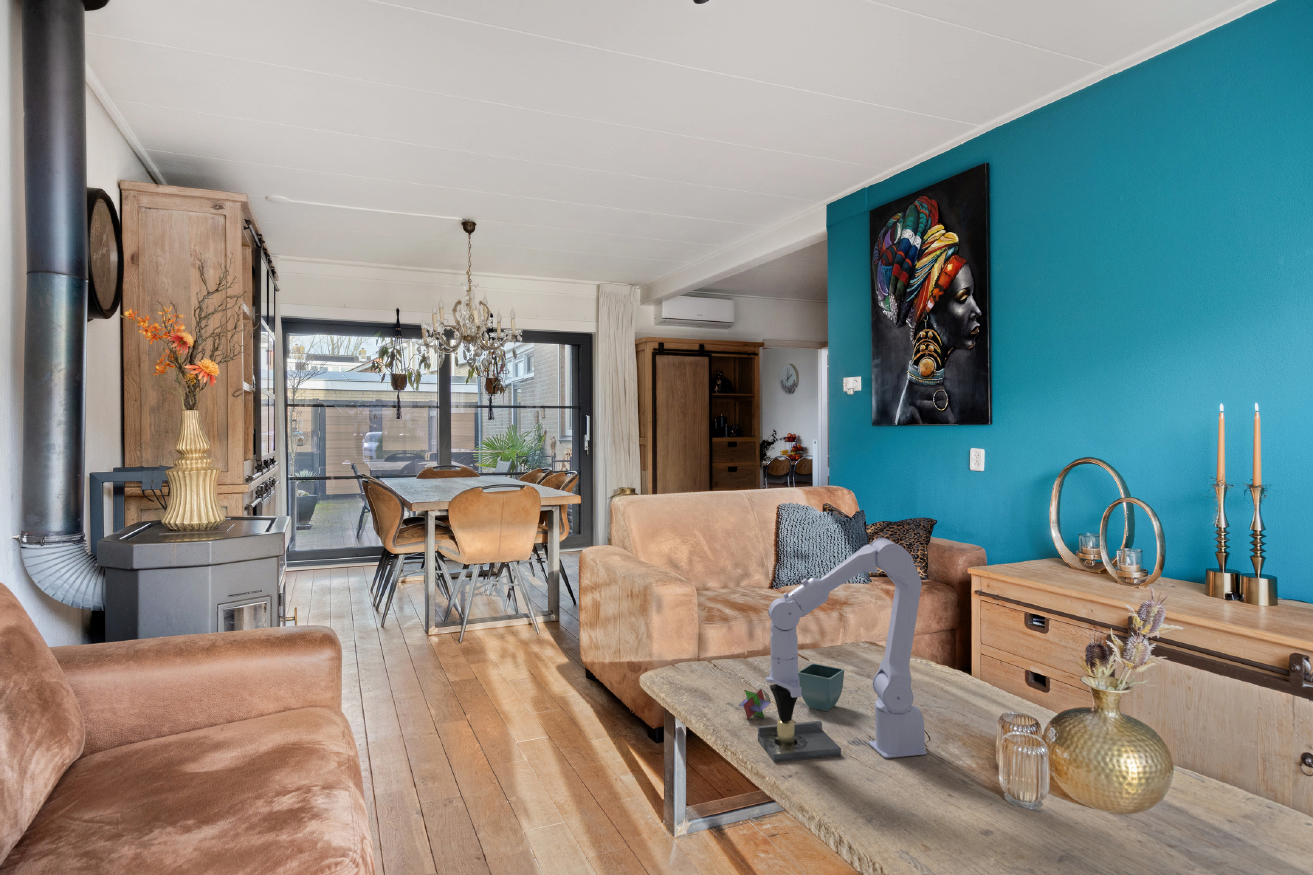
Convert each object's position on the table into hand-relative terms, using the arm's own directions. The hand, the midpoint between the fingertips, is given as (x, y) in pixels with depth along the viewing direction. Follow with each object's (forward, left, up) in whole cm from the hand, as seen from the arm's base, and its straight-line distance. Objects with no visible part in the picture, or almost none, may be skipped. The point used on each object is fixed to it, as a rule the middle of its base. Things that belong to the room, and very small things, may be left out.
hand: (785, 720), depth 158 cm
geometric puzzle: (+1, -19, -6) cm, 20 cm away
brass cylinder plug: (0, 0, -6) cm, 6 cm away
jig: (-3, 0, -6) cm, 7 cm away
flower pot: (-17, -22, -6) cm, 29 cm away
